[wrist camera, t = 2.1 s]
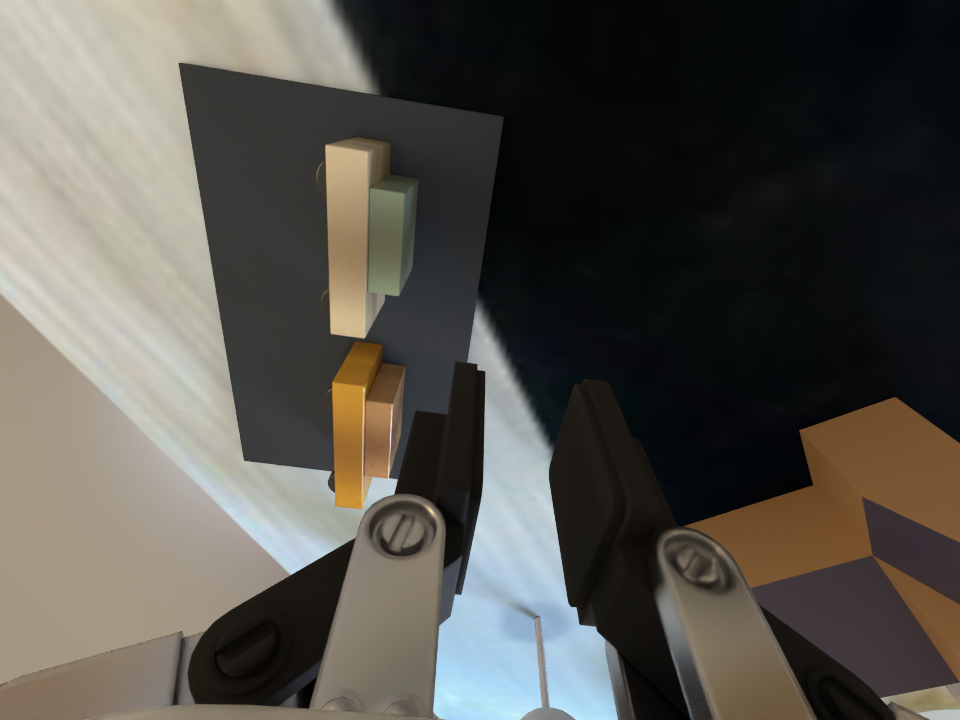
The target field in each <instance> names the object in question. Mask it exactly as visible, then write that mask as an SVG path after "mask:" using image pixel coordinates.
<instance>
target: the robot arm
mask: <svg viewBox="0 0 960 720" xmlns="http://www.w3.org/2000/svg"><path fill="white" fill-rule="evenodd" d="M484 412H485V371H479V370H477V364H471V363H464V362H456V361H455V366H454V373H453V380H452V387H451V395H450V402H449V409H448V414H441V413H433V412H425V411H417V410H416V411H415V414H414V417H413V421H412V425H411V429H410V433H409V438H408V442H407V446H406V450H405V454H404V458H403V462H402V466H401V470H400V474H399V478H398V482H397V486H396V490H395V494H394V495H391V496H388V497H384V498H382V499H381V500H379V501H377V502H375V503H374V504H373V505H372V506H371V507H370V508H369V509H368V510H367V511H366V512H365V514H364V516H363V518H362V520H361V522H360V525H359V529H358V532H357V536H356V538H354V539H353V540H351V541H349V542H347V543H346V544H344V545H342V546H341V547H339V548H337V549H335V550H334V551H332V552H330V553H328V554H327V555H325V556H323V557H322V558H320V559H318V560H316V561H315V562H313V563H311V564H309V565H308V566H306V567H304V568H303V569H301V570H299V571H297V572H296V573H294V574H292V575H290V576H289V577H287V578H285V579H284V580H282V581H280V582H278V583H277V584H275V585H273V586H271V587H270V588H268V589H266V590H265V591H263V592H261V593H259V594H258V595H256V596H254V597H253V598H251V599H249V600H247V601H246V602H244V603H242V604H241V605H239V606H237V607H235V608H234V609H232V610H230V611H229V612H227V613H226V614H225V615H223V616H222V617H220V618H219V619H218V620H216V621H215V622H214V623H213V624H212V625H211V626H210V627H209V628H208V630H207V631H205V632H201V633H198V634H194V635H191V636H187V637H184V635H183V632H182V631H181V632H177V633H174V634H170V635H167V636H163V637H159V638H156V639H152V640H148V641H145V642H141V643H137V644H134V645H131V646H127V647H123V648H119V649H116V650H112V651H109V652H105V653H101V654H98V655H94V656H91V657H87V658H83V659H80V660H76V661H73V662H69V663H66V664H62V665H58V666H55V667H52V668H47V669H44V670H40V671H37V672H33V673H30V674H26V675H23V676H20V677H18V678H15V679H13V680H10V681H8V682H6V683H3V684H1V685H0V720H444V719H432V718H433V704H434V690H435V676H436V662H437V648H438V634H439V625H440V624H442V623H443V622H444V621H445V620H446V619H448V618H449V617H450V616H451V611H452V605H453V600H454V595H455V594H457V595H461V593H462V589H463V584H464V579H465V574H466V570H467V565H468V560H469V555H470V550H471V546H472V541H473V536H474V531H475V526H476V521H477V517H478V512H479V507H480V502H481V495H482V487H483V461H484ZM549 482H550V489H551V495H552V501H553V508H554V514H555V521H556V527H557V533H558V540H559V546H560V553H561V559H562V565H563V572H564V578H565V585H566V591H567V598H568V602H569V605H570V606H571V607H577V612H578V618H579V624H580V625H586V626H596V627H597V632H598V633H599V634H601V635H602V636H603V637H604V638H605V639H606V641H605V644H606V656H607V662H608V667H609V672H610V678H611V683H612V689H613V694H614V699H615V705H616V710H617V716H618V720H929V719H927V718H925V717H923V716H921V715H919V714H917V713H915V712H913V711H911V710H908V709H906V708H904V707H902V706H900V705H898V704H896V703H894V702H891V703H889V704H888V705H887V706H886V704H885V703H884V702H883V701H882V700H881V699H880V698H879V696H878V695H877V694H876V693H875V692H874V691H873V690H872V689H871V688H870V687H869V686H868V685H867V684H866V683H864V682H863V681H862V680H861V679H860V678H859V677H857V676H856V675H855V674H854V673H852V672H851V671H850V670H848V669H847V668H845V667H844V666H843V665H841V664H840V663H839V662H837V661H836V660H834V659H833V658H832V657H830V656H829V655H828V654H826V653H825V652H824V651H822V650H821V649H819V648H818V647H817V646H815V645H814V644H813V643H811V642H810V641H809V640H807V639H806V638H804V637H803V636H802V635H800V634H799V633H798V632H796V631H795V630H793V629H792V628H791V627H789V626H788V625H787V624H785V623H784V622H783V621H781V620H780V619H778V618H777V617H776V616H774V615H773V614H772V613H770V612H769V611H768V610H766V609H765V608H763V607H762V606H761V605H759V604H758V602H757V600H756V598H755V596H754V594H753V593H752V591H751V589H750V587H749V585H748V583H747V581H746V579H745V577H744V575H743V573H742V571H741V569H740V567H739V565H738V564H737V562H736V561H735V559H734V558H733V556H732V555H731V554H730V553H729V552H728V551H727V550H726V549H725V548H724V547H723V546H722V545H721V544H720V543H719V542H717V541H716V540H714V539H713V538H712V537H710V536H709V535H707V534H705V533H702V532H700V531H698V530H696V529H692V528H688V527H680V526H677V524H676V522H675V519H674V517H673V515H672V513H671V510H670V508H669V506H668V504H667V501H666V499H665V497H664V495H663V492H662V490H661V488H660V485H659V483H658V481H657V479H656V476H655V474H654V472H653V470H652V467H651V465H650V463H649V461H648V458H647V456H646V454H645V452H644V449H643V447H642V445H641V443H640V442H639V441H638V440H637V439H634V438H632V435H631V433H630V431H629V428H628V426H627V424H626V421H625V419H624V417H623V414H622V412H621V410H620V407H619V405H618V403H617V400H616V398H615V396H614V393H613V391H612V389H611V386H610V384H609V383H608V382H604V381H596V380H589V379H585V380H583V382H582V384H575V385H574V387H573V390H572V394H571V397H570V400H569V404H568V407H567V410H566V414H565V417H564V420H563V423H562V427H561V430H560V433H559V437H558V440H557V443H556V447H555V450H554V453H553V457H552V460H551V463H550V468H549Z"/></svg>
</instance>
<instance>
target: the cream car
mask: <svg viewBox="0 0 960 720" xmlns="http://www.w3.org/2000/svg"><path fill="white" fill-rule="evenodd" d="M325 150H326V160H324V161H323V162H322V163H321V164H320V166H319V167H318V170H317V174H316V181H317V185H318V188H319V190H320V192H321V193H322V195H323V196H324V197H325V198H326V199H327V221H328V257H329V287H328V289H327V290H326V291H325V292H324V293H323V295H322V298H321V305H322V309H323V311H324V312H325V314H326V315H327V316H328V317H329V318H330V328H331V334H335V335H343V336H350V337H357V338H365V337H366V335H367V333H368V331H369V329H370V328H371V326H372V324H373V322H374V320H375V318H376V317H377V315H378V313H379V311H380V309H381V307H382V305H383V304H384V302H385V294H386V295H393V296H399V295H400V293H401V291H402V289H403V286H404V284H405V282H406V280H407V278H408V276H409V274H410V272H411V270H412V266H413V252H414V238H415V224H416V209H417V195H418V179H415V178H409V177H402V176H396V175H390V151H391V144H390V143H389V142H383V141H377V140H371V139H365V138H359V137H357V138H352V139H348V140H344V141H340V142H335V143H331V144H327V145H326V146H325Z"/></svg>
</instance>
